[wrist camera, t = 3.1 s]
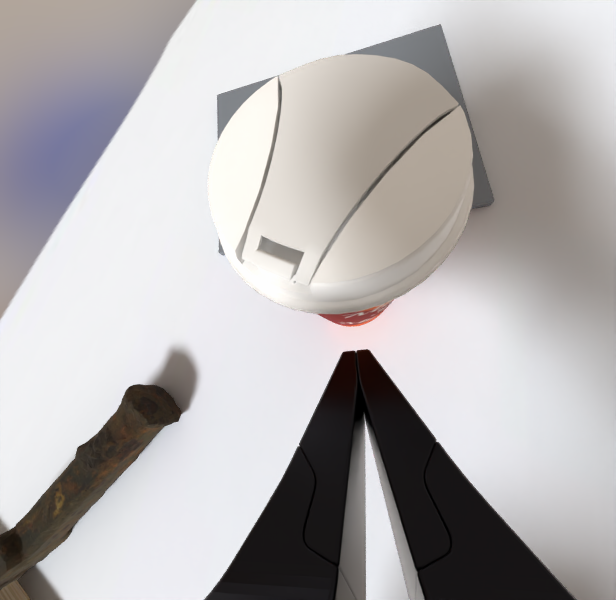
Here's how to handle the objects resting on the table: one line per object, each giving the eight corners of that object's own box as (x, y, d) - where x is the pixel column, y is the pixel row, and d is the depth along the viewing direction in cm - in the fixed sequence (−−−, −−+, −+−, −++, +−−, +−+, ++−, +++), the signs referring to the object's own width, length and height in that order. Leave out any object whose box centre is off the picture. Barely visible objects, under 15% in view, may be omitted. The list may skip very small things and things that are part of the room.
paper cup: (378, 358, 18) (419, 365, 5) (287, 316, 20) (144, 240, 7) (419, 263, 19) (550, 47, 6) (327, 231, 21) (267, 21, 8)
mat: (490, 205, 19) (494, 200, 18) (222, 255, 23) (218, 252, 22) (438, 32, 23) (440, 24, 23) (220, 100, 27) (217, 94, 27)
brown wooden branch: (165, 377, 22) (114, 382, 17) (190, 414, 21) (142, 430, 16) (14, 536, 22) (-76, 582, 17) (30, 583, 21) (-63, 645, 16)
